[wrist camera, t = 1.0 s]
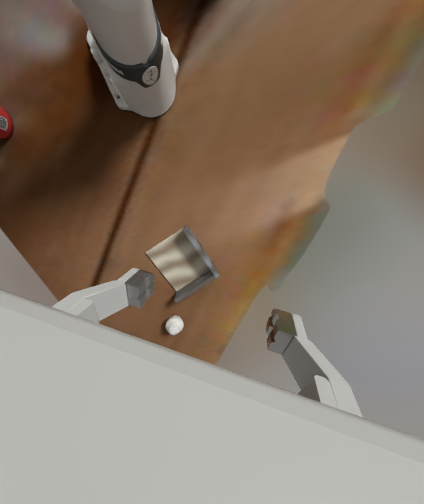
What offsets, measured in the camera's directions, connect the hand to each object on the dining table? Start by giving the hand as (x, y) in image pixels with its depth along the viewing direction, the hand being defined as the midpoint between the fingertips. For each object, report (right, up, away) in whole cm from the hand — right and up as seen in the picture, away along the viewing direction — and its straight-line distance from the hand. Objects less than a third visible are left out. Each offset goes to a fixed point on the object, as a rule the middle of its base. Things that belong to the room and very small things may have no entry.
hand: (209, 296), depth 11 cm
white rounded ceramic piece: (-13, -22, +49) cm, 56 cm away
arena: (-10, 0, +44) cm, 45 cm away
